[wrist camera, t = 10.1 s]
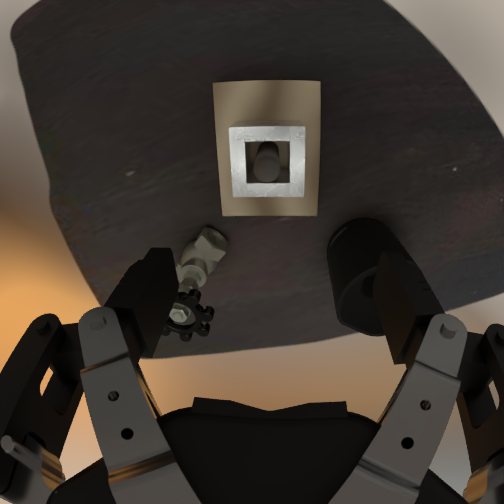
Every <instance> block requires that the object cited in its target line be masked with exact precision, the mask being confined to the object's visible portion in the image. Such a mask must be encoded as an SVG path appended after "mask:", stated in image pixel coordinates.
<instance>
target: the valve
mask: <svg viewBox="0 0 504 504" xmlns="http://www.w3.org/2000/svg"><path fill="white" fill-rule="evenodd" d="M228 246H229V244H228V242H227V240H226V239H225V238H224V236H223V235H222V234H221V233H219V232H218V231H216V230H214V229H212V228H206V227H205V228H204V229H203V230H202V232H201V233H200V234H199V236H198V237H197V239H196V240H194V241H192V242H191V243H189V244H188V245H187V246H186V247H185V249H184V251H183V253H182V257H181V259H180V260H179V261H178V263H177V264H176V266H175V267H176V272H177V277H178V281H179V282H180V286H179V289H178V295H177V298H176V300H175V302H174V305H173V307H172V309H171V312H170V314H169V318H168V319H167V322H166V324H165V326H164V329H163V331H162V335H164V336H168V335H169V334H170V332H171V331H173V332H177V333H179V334H180V339H181V340H182V341H184V342H189V341H190V340H191V337H192V334H193V332H197V334H198V335H200V336H202V337H205V336H208V334H209V330H210V325H209V323H206V325H203V324H202V321H205V322H210V321H212V319H213V316H214V309H213V308H212V307H210V306H207V307H206V309H203V307H202V306H201V305H200V304H198V303H199V301H200V298H201V293H200V291H198V287H201V286H203V285H204V284H205V282H206V280H207V277H208V274H210V273H211V272H212V271H213V270H214V269H215V268H216V266H217V264H218V261H219V260H220V259H221V258H222V257H223V256H224V255H225V254H226V252H227V250H228ZM191 311H192V312H193V313H194V315H195V318H196V321H195V322H194V323H192V324H190V325H177V324H175V323H173V322H174V321H176V322H184V321H185V320H186V319H187V318H188V316H189V315H190V313H191Z"/></svg>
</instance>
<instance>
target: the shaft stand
mask: <svg viewBox="0 0 504 504" xmlns="http://www.w3.org/2000/svg"><path fill="white" fill-rule="evenodd" d="M213 95H214V111H215V126H216V140H217V154H218V167H219V179H220V191H221V203H222V215H223V216H317V207H318V188H319V163H320V114H321V94H320V81H304V80H255V81H234V82H220V83H213ZM255 120H300V121H301V122H302V123H303V125H304V126H305V180H304V197H233V189H232V173H231V158H230V142H229V127H230V126H231V125H232V124H234V123H235V122H236V121H255ZM250 158H251V168H253V171H254V174H255V176H256V178H257V179H259V180H260V181H262V182H272V181H274V180H275V179H276V178H277V177H278V176H279V174H280V168H287V141H250Z"/></svg>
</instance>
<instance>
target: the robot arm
mask: <svg viewBox="0 0 504 504" xmlns="http://www.w3.org/2000/svg"><path fill="white" fill-rule="evenodd" d="M178 289H179V283H178V277H177V272H176V267H175V262H174V257H173V252H172V250H171V248H151V249H150V250H149V251H148V253H147V254H146V256H145V257H144V259H143V260H138V261H137V262H136V263H134V264H133V265H132V266H130V267H129V269H128V270H127V272H126V273H125V274H124V277H122V279H121V280H120V282H119V284H118V285H117V286H116V288H115V289H114V291H113V292H112V294H111V295H110V297H109V298H108V300H107V302H106V303H105V305H104V306H103V307H97V308H93V309H91V310H89V311H88V312H86V313H85V314H84V315H83V316H82V317H81V319H80V320H79V323H72V324H65V325H62V324H61V322H60V320H59V318H58V317H57V316H56V315H55V314H50V313H49V314H44V315H41V316H39V317H37V318H36V319H35V320H34V321H33V322H32V323H31V324H30V325H29V327H28V328H27V330H26V332H25V333H24V335H23V336H22V338H21V339H20V341H19V342H18V344H17V346H16V347H15V349H14V351H13V352H12V354H11V355H10V357H9V359H8V361H7V362H6V364H5V366H4V367H3V369H2V371H1V373H0V498H2V499H4V500H6V501H8V502H10V503H12V504H504V326H503V325H500V324H492V325H490V326H489V327H488V328H487V330H486V332H485V333H484V335H483V334H478V333H472V332H467V330H466V327H465V325H464V324H463V323H462V322H461V321H460V320H459V319H458V318H456V317H454V316H452V315H449V314H445V312H444V310H443V308H442V307H441V305H440V303H439V301H438V299H437V298H436V296H435V294H434V292H433V291H432V290H431V287H430V285H429V284H428V283H427V280H426V279H425V277H424V275H423V274H422V272H421V271H419V270H418V269H417V268H416V267H415V266H413V265H409V264H408V262H407V260H406V259H405V257H404V255H403V254H402V253H401V252H382V253H381V255H380V258H379V263H378V267H377V271H376V275H375V280H374V284H373V300H374V303H375V306H376V309H377V311H378V314H379V317H380V320H381V323H382V326H383V329H384V333H385V336H386V339H387V342H388V345H389V349H390V352H391V355H392V359H393V362H394V364H395V365H396V364H406V368H407V369H406V371H405V372H404V374H403V376H402V378H401V380H400V382H399V384H398V386H397V388H396V390H395V392H394V393H393V395H392V397H391V399H390V401H389V402H388V404H387V406H386V408H385V410H384V411H383V413H382V414H381V416H380V418H379V419H378V421H377V422H375V421H373V420H371V419H369V418H368V417H365V416H363V415H360V414H356V413H353V412H348V411H347V405H346V401H342V402H321V403H307V404H303V405H298V406H293V407H289V408H284V409H279V410H275V411H266V410H262V409H259V408H255V407H251V406H247V405H244V404H241V403H237V402H234V401H231V400H219V399H209V398H199V397H194V401H193V405H192V407H187V408H183V409H178V410H175V411H172V412H169V413H167V414H164V415H162V414H161V412H160V410H159V408H158V406H157V404H156V402H155V400H154V398H153V396H152V393H151V391H150V389H149V387H148V385H147V382H146V380H145V378H144V375H143V373H142V371H141V368H140V366H139V364H138V362H139V360H140V357H141V356H142V357H148V358H152V357H153V354H154V352H155V349H156V346H157V344H158V341H159V339H160V336H161V334H162V331H163V329H164V326H165V324H166V322H167V319H168V317H169V314H170V312H171V309H172V307H173V305H174V302H175V300H176V298H177V295H178ZM48 367H50V369H51V370H52V371H53V374H52V376H51V378H50V381H49V382H48V385H47V387H46V389H45V391H44V393H43V395H42V396H41V393H40V384H41V381H42V379H43V377H44V375H45V373H46V371H47V369H48ZM492 381H494V384H495V387H496V389H497V392H498V395H499V406H498V409H497V410H496V406H495V404H494V400H493V397H492V394H491V392H490V389H489V386H488V385H489V384H490V383H491V382H492ZM83 392H84V393H85V397H86V402H87V406H88V409H89V413H90V417H91V420H92V424H93V427H94V431H95V434H96V437H97V441H98V443H99V447H100V450H101V453H102V455H103V457H102V458H101V459H99V460H98V461H96V462H95V463H93V464H92V465H90V466H88V467H87V468H85V469H84V470H82V471H81V472H79V473H78V474H76V475H74V476H73V477H71V478H70V479H68V480H66V481H65V475H64V473H63V472H62V466H61V463H60V461H59V459H60V456H61V452H62V449H63V446H64V443H65V440H66V438H67V435H68V432H69V429H70V426H71V424H72V421H73V418H74V415H75V413H76V410H77V407H78V405H79V402H80V400H81V397H82V395H83ZM455 401H456V402H457V406H458V410H459V413H460V417H461V422H462V425H463V430H464V435H465V439H466V444H467V449H468V454H469V460H470V466H471V472H472V475H471V476H470V478H469V480H468V483H467V487H466V488H465V489H464V491H463V497H462V496H461V495H460V494H458V493H457V492H456V491H455V490H453V489H452V488H451V487H450V486H449V485H448V484H446V483H445V482H444V481H443V480H442V479H441V478H439V477H438V476H437V475H436V474H435V473H434V472H432V471H431V470H430V469H429V466H430V464H431V462H432V459H433V457H434V455H435V453H436V451H437V448H438V446H439V444H440V441H441V439H442V436H443V434H444V431H445V429H446V426H447V424H448V421H449V418H450V415H451V412H452V410H453V407H454V404H455Z"/></svg>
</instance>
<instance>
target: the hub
mask: <svg viewBox="0 0 504 504" xmlns="http://www.w3.org/2000/svg"><path fill="white" fill-rule="evenodd" d="M250 141H287V168H280V174H279V176H278V177H277V178H276V179H275V180H274V181H272V182H262V181H260V180H259V179H257V178H256V176H255V174H254V171H253V168H251V158H250ZM229 142H230V158H231V173H232V189H233V197H304V180H305V126H304V125H303V123H302V122H301V121H300V120H255V121H236V122H235V123H234V124H232V125H231V126H230V127H229Z"/></svg>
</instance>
